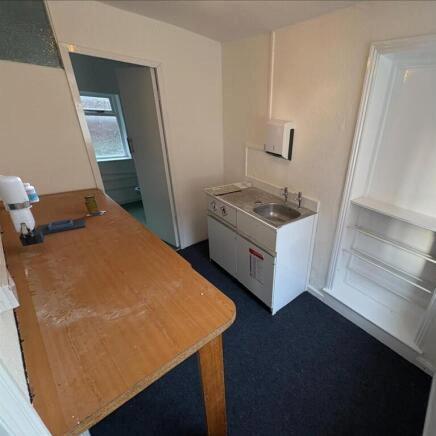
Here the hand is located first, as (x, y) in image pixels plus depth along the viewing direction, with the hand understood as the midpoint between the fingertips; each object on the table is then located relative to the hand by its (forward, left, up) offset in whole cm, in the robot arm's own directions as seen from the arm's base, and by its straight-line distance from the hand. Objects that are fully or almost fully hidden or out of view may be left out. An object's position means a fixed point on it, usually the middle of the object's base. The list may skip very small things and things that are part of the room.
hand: (33, 241), depth 107 cm
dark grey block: (0, 0, 0) cm, 0 cm away
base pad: (+7, +27, -5) cm, 28 cm away
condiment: (+23, +41, -5) cm, 47 cm away
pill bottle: (-11, +90, -5) cm, 90 cm away
